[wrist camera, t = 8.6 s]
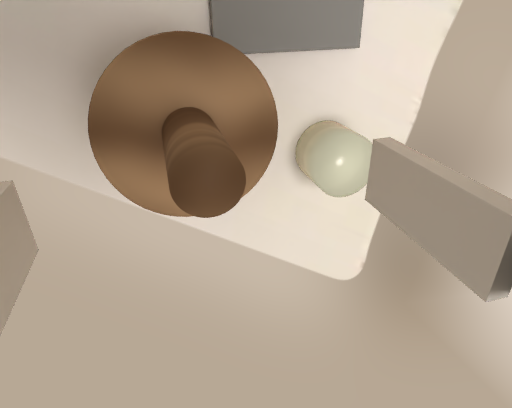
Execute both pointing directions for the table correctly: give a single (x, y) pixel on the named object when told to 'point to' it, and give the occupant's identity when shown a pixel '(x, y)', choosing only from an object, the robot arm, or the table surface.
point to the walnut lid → (183, 124)
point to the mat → (287, 24)
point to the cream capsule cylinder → (334, 158)
